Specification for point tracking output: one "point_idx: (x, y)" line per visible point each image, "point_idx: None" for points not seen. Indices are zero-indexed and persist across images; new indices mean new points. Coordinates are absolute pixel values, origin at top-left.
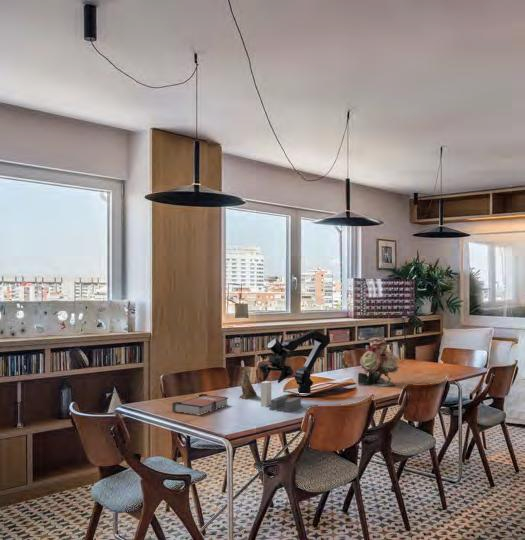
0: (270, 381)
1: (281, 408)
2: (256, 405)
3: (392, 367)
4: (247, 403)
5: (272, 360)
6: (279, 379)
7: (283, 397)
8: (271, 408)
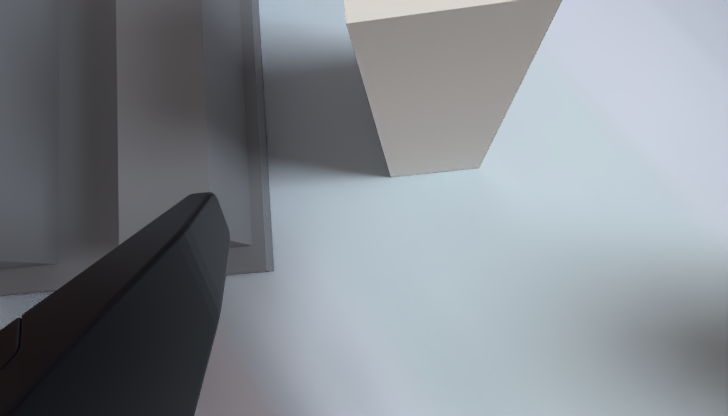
0: (372, 17)
1: (115, 3)
2: None
3: None
4: (725, 64)
5: None
6: (134, 237)
7: (128, 134)
8: None
